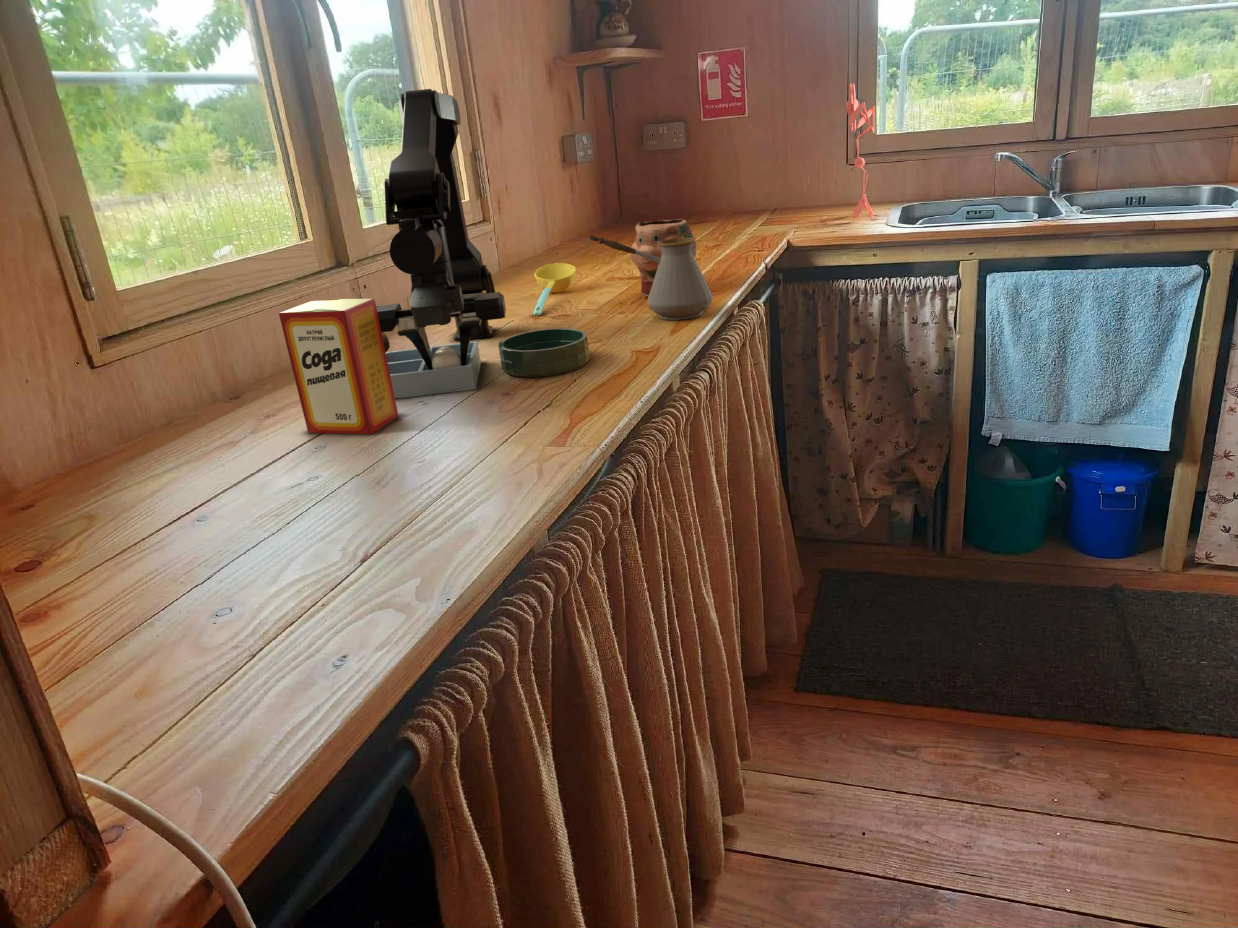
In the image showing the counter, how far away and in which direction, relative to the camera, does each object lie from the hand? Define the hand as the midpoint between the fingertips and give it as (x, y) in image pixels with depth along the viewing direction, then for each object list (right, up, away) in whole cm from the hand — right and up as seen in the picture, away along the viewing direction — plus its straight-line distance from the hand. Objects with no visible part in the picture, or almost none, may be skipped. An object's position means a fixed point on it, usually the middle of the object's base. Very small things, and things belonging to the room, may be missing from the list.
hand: (448, 371), depth 126 cm
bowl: (+14, +2, +6) cm, 15 cm away
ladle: (+11, +20, +51) cm, 56 cm away
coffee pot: (+31, +13, +29) cm, 44 cm away
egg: (0, -1, 0) cm, 1 cm away
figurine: (+89, +55, +119) cm, 158 cm away
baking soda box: (-10, -8, -12) cm, 18 cm away
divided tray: (-4, -1, +4) cm, 5 cm away
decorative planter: (+35, +21, +48) cm, 63 cm away
